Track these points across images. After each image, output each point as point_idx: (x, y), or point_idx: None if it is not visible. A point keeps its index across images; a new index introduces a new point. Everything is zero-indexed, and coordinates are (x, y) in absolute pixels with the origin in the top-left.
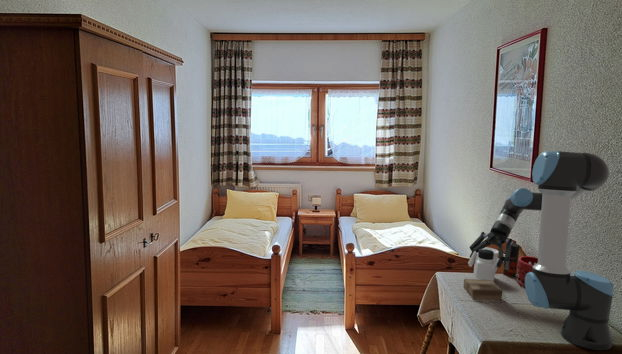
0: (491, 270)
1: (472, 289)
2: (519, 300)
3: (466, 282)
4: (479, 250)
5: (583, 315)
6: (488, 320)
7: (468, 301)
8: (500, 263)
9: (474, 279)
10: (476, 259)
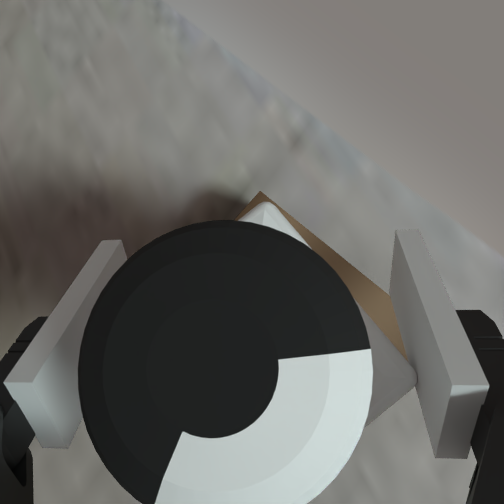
0: (115, 242)
1: (275, 205)
2: (67, 455)
3: (384, 293)
4: (322, 271)
5: None
6: (80, 51)
7: (261, 158)
8: (11, 346)
9: None
10: (362, 317)
